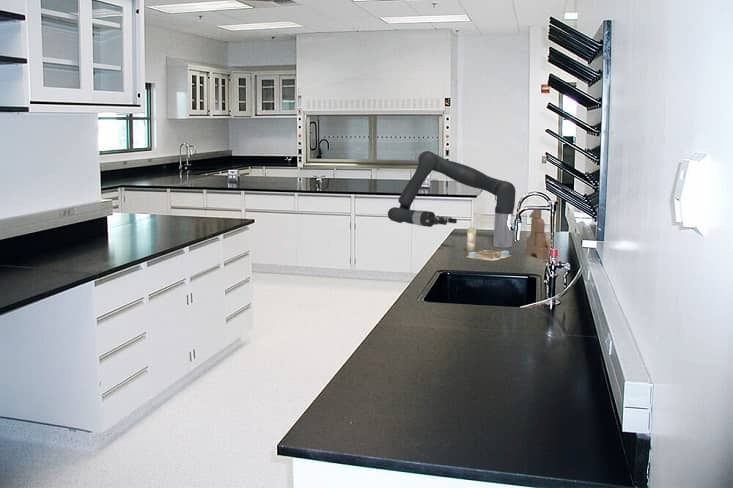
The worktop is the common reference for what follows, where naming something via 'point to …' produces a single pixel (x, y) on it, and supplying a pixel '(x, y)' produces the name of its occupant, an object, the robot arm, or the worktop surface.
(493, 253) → the jig
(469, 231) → the fuselage dowel
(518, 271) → the worktop surface
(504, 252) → the wing piece
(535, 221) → the wooden toy
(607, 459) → the worktop surface
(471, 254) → the tail piece
